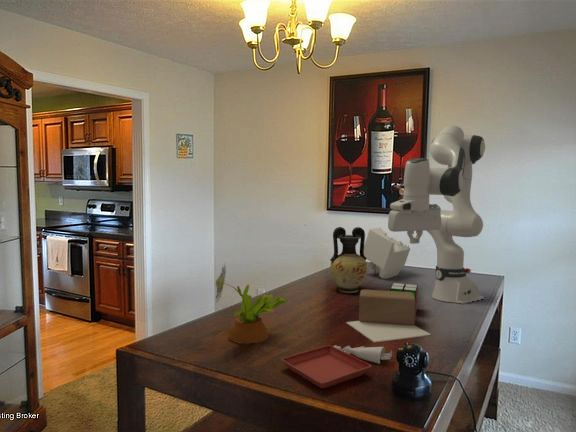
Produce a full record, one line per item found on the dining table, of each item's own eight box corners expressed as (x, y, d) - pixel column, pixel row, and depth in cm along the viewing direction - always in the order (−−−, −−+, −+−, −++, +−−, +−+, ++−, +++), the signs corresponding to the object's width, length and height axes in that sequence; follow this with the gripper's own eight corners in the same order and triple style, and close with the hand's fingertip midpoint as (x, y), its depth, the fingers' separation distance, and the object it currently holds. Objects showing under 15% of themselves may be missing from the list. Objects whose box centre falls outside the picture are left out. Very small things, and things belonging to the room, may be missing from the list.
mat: (398, 317, 173) (398, 316, 173) (430, 335, 154) (431, 334, 154) (346, 323, 166) (346, 322, 166) (374, 342, 147) (374, 341, 147)
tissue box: (378, 265, 259) (392, 225, 250) (400, 279, 248) (415, 238, 240) (355, 270, 245) (369, 228, 237) (378, 285, 235) (393, 242, 226)
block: (416, 299, 161) (359, 295, 165) (415, 326, 162) (358, 322, 166) (413, 291, 171) (360, 288, 175) (412, 317, 172) (359, 313, 176)
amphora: (356, 285, 223) (358, 224, 220) (373, 293, 207) (375, 228, 205) (323, 287, 218) (325, 225, 215) (338, 296, 202) (340, 229, 199)
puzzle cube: (417, 308, 185) (418, 284, 184) (415, 316, 176) (416, 290, 175) (392, 306, 188) (392, 282, 187) (389, 313, 179) (390, 288, 178)
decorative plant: (222, 323, 164) (222, 255, 161) (288, 325, 163) (289, 256, 161) (206, 353, 137) (206, 271, 134) (286, 355, 136) (287, 273, 134)
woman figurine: (386, 355, 126) (325, 348, 134) (387, 371, 126) (326, 363, 134) (395, 342, 136) (338, 336, 144) (395, 356, 137) (338, 350, 144)
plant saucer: (321, 395, 113) (321, 382, 112) (280, 369, 127) (280, 357, 127) (372, 377, 123) (372, 365, 123) (328, 355, 138) (329, 344, 137)
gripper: (434, 203, 166) (433, 240, 167) (386, 204, 159) (385, 243, 160) (446, 204, 160) (444, 243, 161) (396, 205, 153) (394, 246, 154)
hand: (414, 243), depth 161 cm, fingers closed
